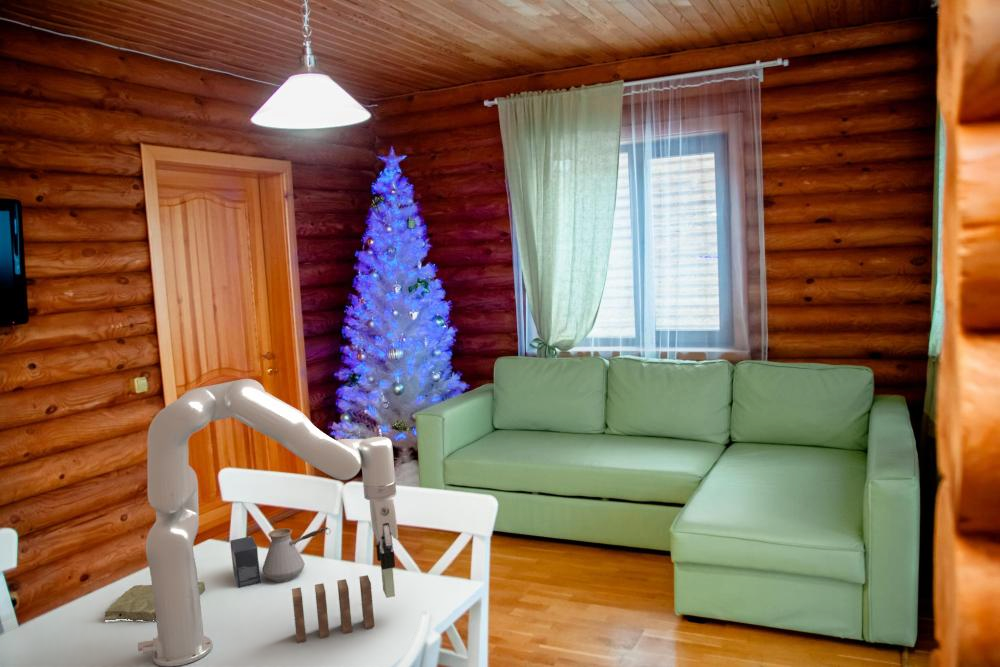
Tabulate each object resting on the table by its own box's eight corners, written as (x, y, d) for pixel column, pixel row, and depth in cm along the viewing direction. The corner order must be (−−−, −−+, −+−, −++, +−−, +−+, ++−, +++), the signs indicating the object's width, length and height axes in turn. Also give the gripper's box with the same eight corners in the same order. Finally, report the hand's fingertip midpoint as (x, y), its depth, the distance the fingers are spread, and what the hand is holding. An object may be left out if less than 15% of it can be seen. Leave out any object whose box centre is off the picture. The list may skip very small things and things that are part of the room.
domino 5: (386, 597, 189) (382, 553, 187) (383, 589, 193) (379, 546, 192) (394, 596, 189) (391, 551, 188) (391, 588, 194) (387, 544, 193)
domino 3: (343, 633, 186) (339, 588, 185) (341, 624, 191) (337, 580, 190) (352, 632, 187) (348, 587, 186) (349, 623, 191) (345, 579, 190)
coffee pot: (254, 583, 219) (249, 530, 218) (278, 567, 230) (273, 516, 229) (322, 589, 213) (317, 534, 211) (344, 572, 223) (339, 520, 222)
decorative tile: (133, 595, 218) (131, 583, 218) (206, 591, 218) (205, 578, 218) (99, 627, 199) (97, 613, 199) (179, 622, 199) (177, 608, 199)
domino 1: (297, 643, 183) (293, 597, 182) (296, 633, 188) (291, 588, 187) (306, 641, 184) (302, 595, 182) (304, 632, 188) (300, 587, 187)
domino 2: (320, 638, 185) (316, 592, 183) (318, 629, 189) (314, 584, 188) (329, 636, 185) (325, 591, 184) (327, 627, 190) (323, 583, 189)
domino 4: (366, 629, 188) (362, 584, 187) (363, 620, 192) (359, 576, 191) (374, 627, 188) (370, 582, 187) (371, 618, 193) (367, 575, 192)
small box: (232, 575, 226) (228, 539, 225) (256, 570, 229) (252, 535, 228) (237, 588, 217) (233, 551, 216) (261, 583, 220) (258, 546, 218)
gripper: (402, 497, 182) (408, 573, 184) (389, 478, 198) (395, 549, 200) (369, 502, 179) (376, 580, 181) (359, 483, 196) (365, 554, 197)
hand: (386, 563), depth 190 cm, fingers closed on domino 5, 4 cm apart
